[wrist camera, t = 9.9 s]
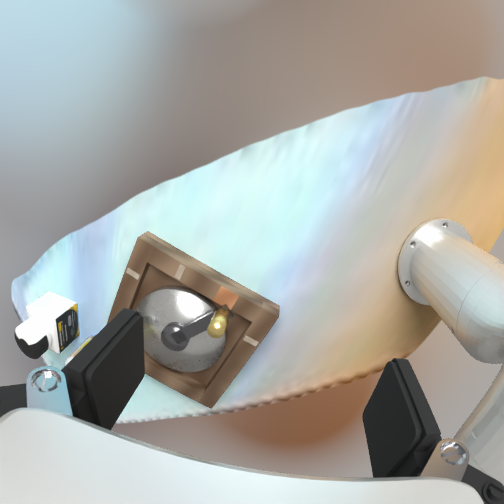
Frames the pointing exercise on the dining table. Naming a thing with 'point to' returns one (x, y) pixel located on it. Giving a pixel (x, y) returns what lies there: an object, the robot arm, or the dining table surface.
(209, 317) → the dial
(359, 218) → the dining table surface
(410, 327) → the dining table surface
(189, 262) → the housing
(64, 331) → the medicine bottle
